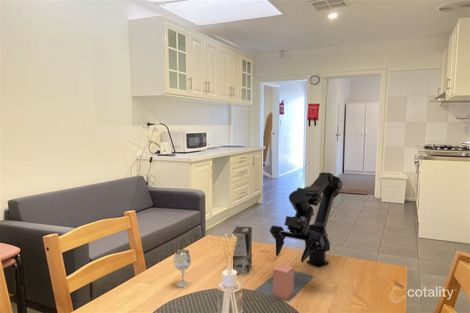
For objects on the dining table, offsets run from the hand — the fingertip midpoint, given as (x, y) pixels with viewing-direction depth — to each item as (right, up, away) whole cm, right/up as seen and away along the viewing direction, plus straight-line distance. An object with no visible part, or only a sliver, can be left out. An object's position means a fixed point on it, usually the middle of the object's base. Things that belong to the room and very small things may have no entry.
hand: (289, 258), depth 114 cm
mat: (-1, -11, +5) cm, 12 cm away
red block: (-2, -11, -3) cm, 12 cm away
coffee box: (-15, -10, +17) cm, 25 cm away
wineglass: (-37, -11, +6) cm, 39 cm away
